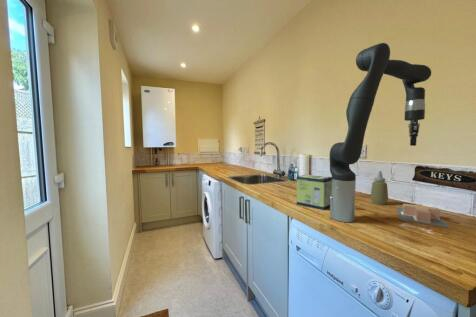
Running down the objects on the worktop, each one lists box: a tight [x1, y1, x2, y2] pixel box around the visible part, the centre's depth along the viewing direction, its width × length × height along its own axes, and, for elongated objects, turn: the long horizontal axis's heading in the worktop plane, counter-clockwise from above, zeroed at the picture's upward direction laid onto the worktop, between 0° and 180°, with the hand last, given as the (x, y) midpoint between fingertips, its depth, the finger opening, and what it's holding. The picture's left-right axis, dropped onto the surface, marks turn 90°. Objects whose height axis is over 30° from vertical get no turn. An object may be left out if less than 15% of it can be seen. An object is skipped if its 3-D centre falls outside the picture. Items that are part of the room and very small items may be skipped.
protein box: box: [296, 174, 332, 211], centre depth 112 cm, size 10×16×16 cm
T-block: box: [402, 203, 441, 222], centre depth 90 cm, size 12×11×4 cm
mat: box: [396, 206, 450, 229], centre depth 93 cm, size 15×23×1 cm, turn 146°
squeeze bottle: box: [370, 170, 389, 206], centre depth 113 cm, size 8×8×18 cm
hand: (413, 145), depth 102 cm, fingers closed
